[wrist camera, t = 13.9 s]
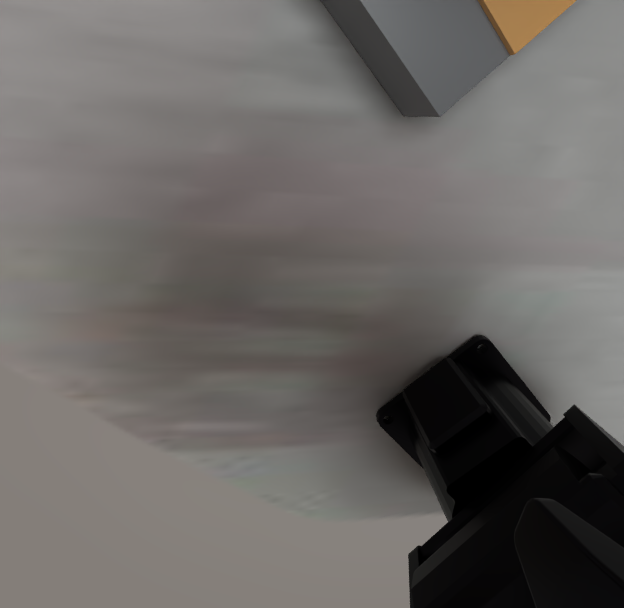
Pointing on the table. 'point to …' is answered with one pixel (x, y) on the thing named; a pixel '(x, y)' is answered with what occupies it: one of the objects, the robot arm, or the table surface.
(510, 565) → the robot arm
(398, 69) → the grey peg socket base
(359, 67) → the table surface
